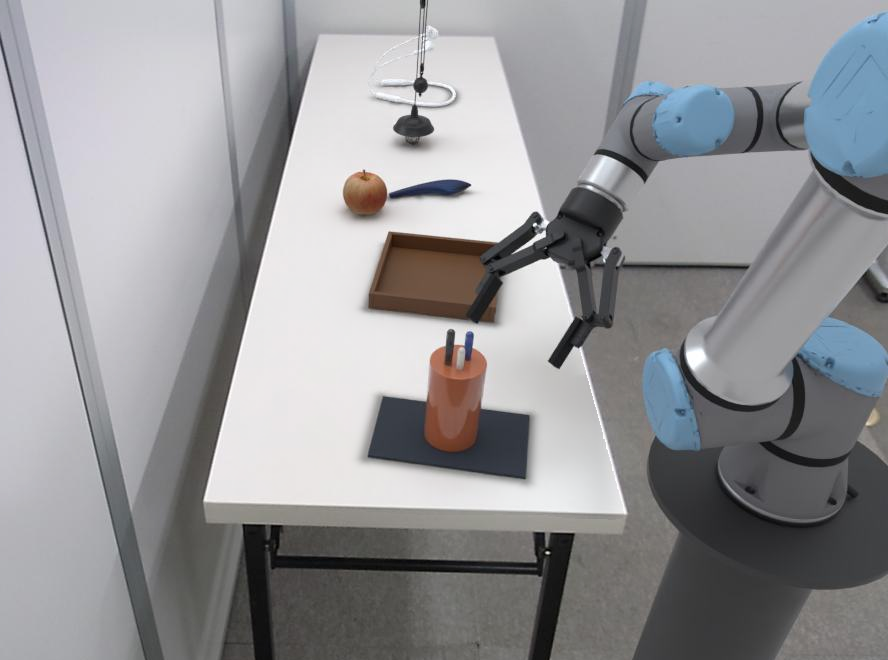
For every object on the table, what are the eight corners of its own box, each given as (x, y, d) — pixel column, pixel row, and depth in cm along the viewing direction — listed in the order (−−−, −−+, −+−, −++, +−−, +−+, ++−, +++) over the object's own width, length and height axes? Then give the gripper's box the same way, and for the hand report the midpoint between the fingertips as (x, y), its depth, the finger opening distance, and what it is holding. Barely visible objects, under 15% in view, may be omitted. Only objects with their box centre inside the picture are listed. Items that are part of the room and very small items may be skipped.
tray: (502, 257, 153) (504, 242, 151) (493, 322, 138) (496, 307, 136) (388, 245, 155) (388, 231, 154) (368, 308, 141) (368, 293, 139)
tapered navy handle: (391, 206, 168) (391, 196, 166) (387, 194, 170) (387, 184, 168) (472, 195, 170) (474, 185, 168) (468, 184, 172) (469, 173, 170)
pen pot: (479, 420, 120) (493, 314, 109) (474, 455, 115) (489, 348, 104) (427, 413, 121) (436, 308, 110) (420, 448, 116) (429, 341, 105)
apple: (336, 204, 167) (336, 163, 161) (377, 198, 168) (378, 158, 163) (350, 224, 161) (350, 183, 156) (392, 218, 163) (393, 177, 158)
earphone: (369, 63, 211) (430, 15, 202) (411, 119, 218) (472, 76, 209) (358, 84, 201) (422, 35, 192) (403, 142, 208) (467, 98, 198)
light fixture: (440, 153, 184) (452, -10, 163) (400, 157, 182) (408, -7, 162) (426, 133, 191) (436, -25, 170) (387, 137, 189) (393, -23, 169)
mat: (529, 417, 121) (529, 414, 121) (525, 479, 112) (525, 476, 112) (382, 398, 124) (382, 395, 124) (367, 457, 115) (367, 454, 115)
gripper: (692, 247, 111) (599, 393, 113) (531, 180, 125) (451, 311, 127) (680, 223, 105) (582, 378, 107) (512, 155, 119) (428, 293, 121)
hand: (510, 342), depth 117 cm, fingers open, 13 cm apart
